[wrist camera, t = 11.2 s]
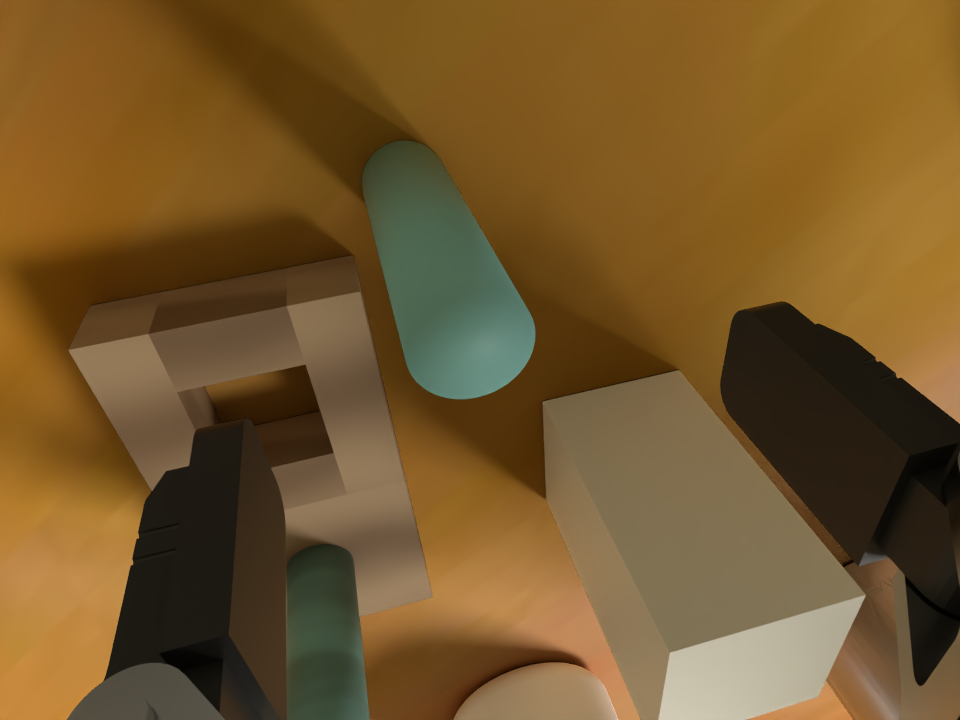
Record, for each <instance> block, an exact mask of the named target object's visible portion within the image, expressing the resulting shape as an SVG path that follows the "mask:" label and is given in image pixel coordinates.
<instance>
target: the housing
mask: <svg viewBox="0 0 960 720" xmlns="http://www.w3.org/2000/svg"><path fill="white" fill-rule="evenodd" d="M542 403H543V429H544V455H545V481H546V501H547V503H548V505H549V508H550V510H551V512H552V515H553V517H554V519H555V522H556V524H557V526H558V529H559V531H560V533H561V536H562V538H563V540H564V543H565V545H566V547H567V550H568V552H569V554H570V556H571V559H572V561H573V563H574V566H575V568H576V570H577V573H578V575H579V577H580V580H581V582H582V584H583V587H584V589H585V591H586V594H587V596H588V598H589V601H590V603H591V605H592V608H593V610H594V612H595V615H596V617H597V619H598V622H599V624H600V626H601V628H602V631H603V633H604V635H605V638H606V640H607V642H608V645H609V647H610V649H611V652H612V654H613V656H614V659H615V661H616V663H617V666H618V668H619V670H620V673H621V675H622V677H623V680H624V682H625V684H626V687H627V689H628V691H629V693H630V696H631V698H632V700H633V703H634V705H635V707H636V710H637V712H638V714H639V717H640V719H641V720H747V719H750V718H753V717H756V716H759V715H763V714H766V713H769V712H772V711H775V710H778V709H781V708H785V707H788V706H791V705H794V704H797V703H800V702H804V701H807V700H810V699H813V698H816V697H818V696H819V693H820V691H821V689H822V687H823V685H824V683H825V681H826V679H827V677H828V674H829V672H830V670H831V668H832V666H833V664H834V662H835V660H836V657H837V655H838V653H839V651H840V649H841V647H842V645H843V643H844V640H845V638H846V636H847V634H848V632H849V630H850V628H851V626H852V623H853V621H854V619H855V617H856V615H857V613H858V611H859V609H860V607H861V604H862V602H863V600H864V598H865V596H866V594H865V593H864V592H863V591H862V589H861V588H860V587H859V586H858V585H857V583H856V582H855V581H854V580H853V579H852V577H851V576H850V575H849V574H848V573H847V571H846V570H845V569H844V568H843V567H842V565H841V564H840V563H839V562H838V560H837V559H836V558H835V557H834V556H833V554H832V553H831V552H830V551H829V550H828V548H827V547H826V546H825V545H824V544H823V542H822V541H821V540H820V539H819V538H818V536H817V535H816V534H815V533H814V532H813V530H812V529H811V528H810V527H809V526H808V524H807V523H806V522H805V521H804V520H803V518H802V517H801V516H800V515H799V514H798V512H797V511H796V510H795V509H794V508H793V506H792V505H791V504H790V503H789V502H788V500H787V499H786V498H785V497H784V496H783V494H782V493H781V492H780V491H779V490H778V488H777V487H776V486H775V485H774V484H773V482H772V481H771V480H770V479H769V478H768V476H767V475H766V474H765V473H764V471H763V470H762V469H761V468H760V467H759V465H758V464H757V463H756V462H755V461H754V459H753V458H752V457H751V456H750V455H749V453H748V452H747V451H746V450H745V449H744V447H743V446H742V445H741V444H740V443H739V441H738V440H737V439H736V438H735V437H734V435H733V434H732V433H731V432H730V431H729V429H728V428H727V427H726V426H725V425H724V423H723V422H722V421H721V420H720V419H719V417H718V416H717V415H716V414H715V413H714V411H713V410H712V409H711V408H710V407H709V405H708V404H707V403H706V402H705V401H704V399H703V398H702V397H701V396H700V395H699V393H698V392H697V391H696V390H695V389H694V387H693V386H692V385H691V384H690V382H689V381H688V380H687V379H686V378H685V376H684V375H683V374H682V373H681V372H680V370H677V371H673V372H669V373H664V374H660V375H656V376H651V377H647V378H643V379H638V380H634V381H630V382H625V383H621V384H617V385H612V386H608V387H603V388H599V389H595V390H590V391H586V392H582V393H577V394H573V395H569V396H564V397H560V398H556V399H551V400H547V401H543V402H542Z"/></svg>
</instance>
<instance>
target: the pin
mask: <svg viewBox="0 0 960 720" xmlns="http://www.w3.org/2000/svg"><path fill="white" fill-rule="evenodd" d="M362 192H363V196H364V200H365V203H366V207H367V211H368V215H369V219H370V223H371V227H372V231H373V235H374V239H375V243H376V247H377V251H378V255H379V258H380V262H381V266H382V270H383V274H384V278H385V282H386V286H387V290H388V294H389V298H390V302H391V306H392V310H393V313H394V317H395V321H396V325H397V329H398V333H399V337H400V341H401V345H402V349H403V353H404V357H405V361H406V364H407V368H408V370H409V372H410V374H411V375H412V377H413V378H414V380H415V381H416V382H417V383H418V384H419V385H420V386H422V387H423V388H424V389H425V390H427V391H429V392H431V393H433V394H435V395H438V396H441V397H444V398H450V399H471V398H477V397H481V396H484V395H487V394H490V393H492V392H494V391H496V390H498V389H500V388H502V387H503V386H505V385H507V384H508V383H509V382H510V381H512V380H513V379H514V378H515V377H516V376H517V375H518V374H519V373H520V372H521V371H522V369H523V368H524V367H525V365H526V364H527V362H528V361H529V359H530V356H531V354H532V352H533V348H534V344H535V333H536V332H535V325H534V322H533V318H532V316H531V314H530V312H529V310H528V309H527V307H526V305H525V304H524V302H523V300H522V298H521V297H520V295H519V293H518V292H517V290H516V288H515V286H514V285H513V283H512V281H511V280H510V278H509V276H508V274H507V273H506V271H505V269H504V268H503V266H502V264H501V262H500V261H499V259H498V257H497V256H496V254H495V252H494V250H493V249H492V247H491V245H490V244H489V242H488V240H487V238H486V237H485V235H484V233H483V232H482V230H481V228H480V226H479V225H478V223H477V221H476V220H475V218H474V216H473V214H472V213H471V211H470V209H469V208H468V206H467V204H466V202H465V201H464V199H463V197H462V196H461V194H460V192H459V191H458V189H457V187H456V185H455V184H454V182H453V180H452V179H451V177H450V175H449V173H448V172H447V170H446V168H445V167H444V165H443V163H442V161H441V160H440V158H439V157H438V156H437V155H436V153H435V152H434V151H432V150H431V149H430V148H428V147H427V146H425V145H423V144H421V143H418V142H415V141H409V140H402V141H395V142H391V143H389V144H386V145H384V146H383V147H381V148H380V149H378V150H377V151H376V152H375V153H374V154H373V155H372V156H371V157H370V158H369V160H368V162H367V163H366V165H365V168H364V170H363V174H362Z"/></svg>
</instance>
